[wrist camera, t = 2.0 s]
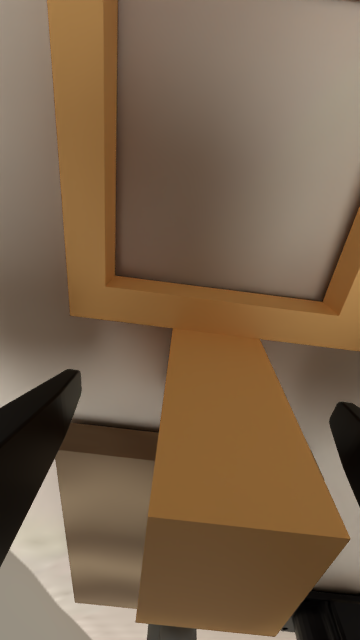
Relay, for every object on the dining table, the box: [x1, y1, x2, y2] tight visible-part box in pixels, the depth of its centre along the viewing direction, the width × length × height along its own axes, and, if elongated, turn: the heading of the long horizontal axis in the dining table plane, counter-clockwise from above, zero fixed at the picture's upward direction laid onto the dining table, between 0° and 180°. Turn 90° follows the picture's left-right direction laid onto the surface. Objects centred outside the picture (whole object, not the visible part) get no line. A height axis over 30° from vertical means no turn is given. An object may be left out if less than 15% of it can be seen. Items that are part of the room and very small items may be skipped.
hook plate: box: [55, 423, 324, 640], centre depth 14 cm, size 16×12×6 cm
